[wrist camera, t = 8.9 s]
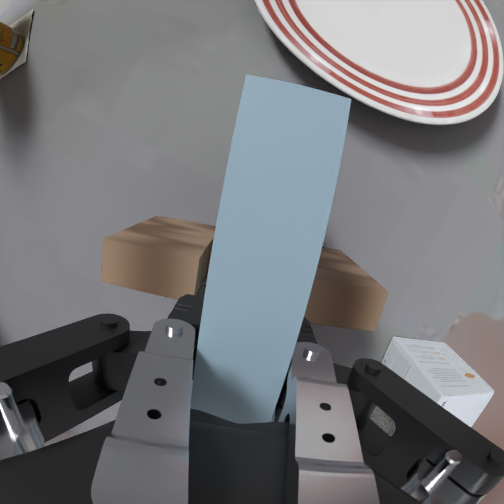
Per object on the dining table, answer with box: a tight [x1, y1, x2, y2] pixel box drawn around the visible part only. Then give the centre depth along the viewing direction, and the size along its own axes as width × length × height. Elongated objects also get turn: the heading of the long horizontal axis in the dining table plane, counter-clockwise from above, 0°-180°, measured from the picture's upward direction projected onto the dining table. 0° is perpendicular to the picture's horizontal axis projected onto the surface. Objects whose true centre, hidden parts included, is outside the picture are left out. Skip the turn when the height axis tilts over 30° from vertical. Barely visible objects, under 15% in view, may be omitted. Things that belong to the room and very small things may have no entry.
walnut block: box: [101, 216, 388, 331], centre depth 20 cm, size 16×2×10 cm, turn 79°
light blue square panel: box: [190, 75, 351, 424], centre depth 15 cm, size 2×16×15 cm, turn 169°
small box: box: [381, 337, 494, 427], centre depth 23 cm, size 8×6×10 cm
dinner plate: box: [255, 0, 503, 125], centre depth 18 cm, size 28×27×3 cm
